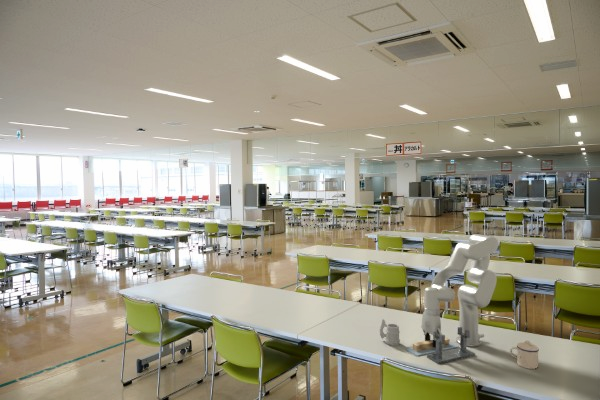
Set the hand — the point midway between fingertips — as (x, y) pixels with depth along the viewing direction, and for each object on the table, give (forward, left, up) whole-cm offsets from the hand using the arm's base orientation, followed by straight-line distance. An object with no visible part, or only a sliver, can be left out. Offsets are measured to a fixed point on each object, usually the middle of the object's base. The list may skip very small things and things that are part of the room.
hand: (431, 344), depth 203 cm
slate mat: (0, 0, -2) cm, 2 cm away
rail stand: (-2, +12, -2) cm, 12 cm away
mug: (+16, -15, -2) cm, 22 cm away
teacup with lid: (-28, +32, -2) cm, 43 cm away
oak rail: (0, 0, 0) cm, 0 cm away
